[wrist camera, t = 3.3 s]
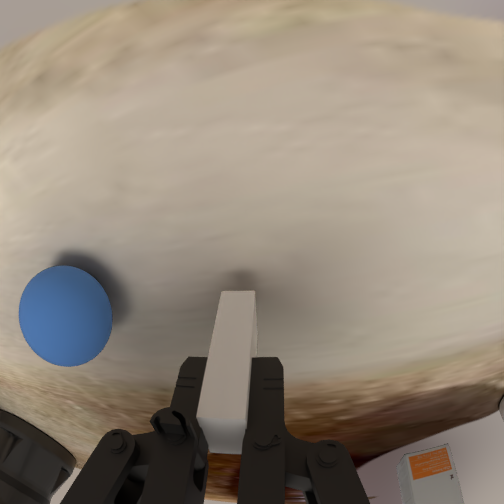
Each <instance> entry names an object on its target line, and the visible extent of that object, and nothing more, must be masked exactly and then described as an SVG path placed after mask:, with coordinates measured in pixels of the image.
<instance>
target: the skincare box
mask: <svg viewBox="0 0 504 504" xmlns="http://www.w3.org/2000/svg"><path fill="white" fill-rule="evenodd" d="M397 474H398V479H399V485H400V491H401V497H402V503H403V504H464V501H463V496H462V492H461V488H460V484H459V480H458V476H457V472H456V468H455V464H454V461H453V457H452V454H451V450H450V447H449V444H444V445H442V446H438V447H434V448H431V449H426V450H423V451H418V452H414V453H407V454H404V456H403V458H402V459H401V461H400V462H399V464H398V465H397Z"/></svg>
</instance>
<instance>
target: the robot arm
mask: <svg viewBox="0 0 504 504" xmlns="http://www.w3.org/2000/svg"><path fill="white" fill-rule="evenodd" d="M257 341H258V330H257V314H256V299H255V291H221V296H220V301H219V306H218V310H217V315H216V320H215V325H214V330H213V335H212V339H211V344H210V349H209V354H208V357H188V358H187V359H186V360H185V362H184V363H183V364H182V365H181V367H180V371H179V375H178V379H177V382H176V387H175V390H174V394H173V398H172V401H171V405H170V407H168V408H164V409H161V410H159V411H157V412H156V413H155V414H154V415H153V416H152V418H151V420H150V423H151V424H152V426H153V428H154V429H155V431H153V432H149V433H144V434H137V435H131V434H130V433H129V432H127V431H126V430H122V429H115V430H111V431H109V432H107V433H106V434H105V435H104V436H103V437H102V439H101V440H100V442H99V443H98V445H97V447H96V448H95V450H94V451H93V453H92V454H91V456H90V457H89V459H88V460H87V462H86V464H85V465H84V467H83V468H82V470H81V471H80V473H79V475H78V476H77V478H76V479H75V481H74V482H73V484H72V486H71V487H70V489H69V490H68V492H67V493H66V495H65V497H64V498H63V500H62V501H61V503H60V504H203V503H204V496H205V489H206V482H207V474H208V467H209V466H208V460H207V453H208V448H209V451H210V452H211V453H226V454H241V465H240V477H239V488H238V500H237V504H284V502H285V486H287V487H290V488H294V489H298V490H302V491H303V494H304V497H305V501H306V504H370V502H369V500H368V497H367V495H366V493H365V491H364V488H363V485H362V483H361V481H360V478H359V476H358V474H357V471H356V469H355V466H354V464H353V462H352V459H351V457H350V455H349V452H348V450H347V449H346V448H345V446H344V445H343V444H341V443H339V442H338V441H334V440H322V441H319V442H317V443H311V442H307V441H303V440H300V439H297V438H295V437H294V436H292V435H291V434H290V433H289V432H288V431H287V429H286V427H285V423H284V376H283V366H282V364H281V362H280V360H279V359H278V357H257ZM75 464H76V461H75V459H74V457H73V456H72V455H71V454H70V453H69V452H68V451H67V450H65V449H64V448H63V447H62V446H61V445H59V444H58V443H57V442H55V441H54V440H52V439H51V438H50V437H48V436H47V435H45V434H44V433H42V432H41V431H39V430H38V429H36V428H34V427H33V426H31V425H29V424H28V423H26V422H24V421H23V420H21V419H19V418H17V417H15V416H13V415H11V414H9V413H7V412H4V411H1V410H0V504H50V501H51V498H52V496H53V495H54V494H55V493H56V492H57V491H58V489H59V488H60V487H61V486H62V485H63V483H64V482H65V481H66V480H67V479H68V478H69V477H70V476H71V474H72V472H73V470H74V467H75Z"/></svg>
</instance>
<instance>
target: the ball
mask: <svg viewBox="0 0 504 504" xmlns="http://www.w3.org/2000/svg"><path fill="white" fill-rule="evenodd" d="M19 321H20V327H21V330H22V333H23V335H24V338H25V340H26V341H27V343H28V344H29V346H30V347H31V349H32V350H33V351H34V352H35V353H36V354H37V355H39V356H40V357H41V358H43V359H44V360H46V361H48V362H50V363H52V364H55V365H59V366H66V367H71V366H78V365H81V364H84V363H87V362H88V361H90V360H92V359H93V358H95V357H96V356H97V355H98V354H99V353H100V352H101V351H102V350H103V348H104V346H105V345H106V343H107V341H108V339H109V336H110V333H111V329H112V309H111V305H110V302H109V299H108V296H107V294H106V292H105V291H104V289H103V287H102V286H101V285H100V283H99V282H98V281H97V280H96V279H95V278H94V277H92V276H91V275H90V274H88V273H87V272H85V271H83V270H81V269H79V268H76V267H72V266H54V267H50V268H48V269H45V270H43V271H41V272H40V273H38V274H37V275H36V276H35V277H33V278H32V279H31V281H30V282H29V283H28V285H27V286H26V288H25V290H24V291H23V294H22V297H21V300H20V305H19Z"/></svg>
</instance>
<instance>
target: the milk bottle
mask: <svg viewBox="0 0 504 504" xmlns="http://www.w3.org/2000/svg"><path fill="white" fill-rule="evenodd" d="M500 413H501V416H502V418H503V420H504V397H503V399H502V400H501V402H500Z"/></svg>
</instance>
